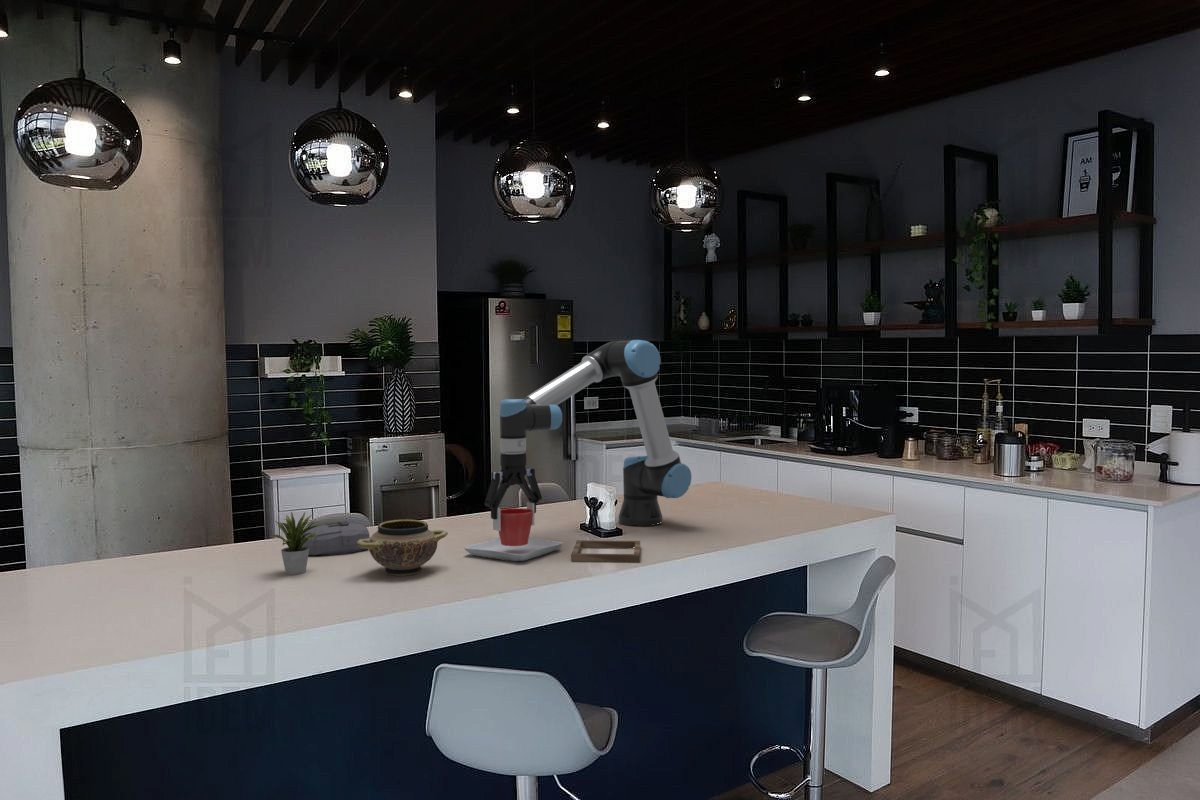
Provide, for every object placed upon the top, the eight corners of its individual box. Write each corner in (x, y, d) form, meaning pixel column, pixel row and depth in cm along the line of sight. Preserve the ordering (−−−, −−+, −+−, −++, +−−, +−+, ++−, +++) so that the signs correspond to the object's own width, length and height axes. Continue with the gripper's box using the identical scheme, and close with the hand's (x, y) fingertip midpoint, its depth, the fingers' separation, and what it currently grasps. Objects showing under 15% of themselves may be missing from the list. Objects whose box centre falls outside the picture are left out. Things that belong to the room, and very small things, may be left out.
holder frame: (576, 546, 261) (576, 540, 260) (640, 547, 259) (640, 540, 259) (571, 561, 242) (570, 554, 241) (639, 562, 240) (639, 555, 240)
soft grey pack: (361, 542, 268) (293, 550, 258) (360, 516, 268) (293, 522, 258) (374, 552, 255) (304, 560, 245) (374, 524, 255) (303, 531, 245)
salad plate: (506, 545, 267) (506, 534, 267) (564, 552, 256) (564, 541, 256) (462, 558, 248) (462, 546, 248) (522, 567, 238) (522, 555, 237)
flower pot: (499, 540, 258) (499, 507, 258) (536, 540, 257) (536, 508, 256) (491, 547, 247) (491, 513, 247) (529, 548, 246) (529, 514, 246)
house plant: (312, 580, 222) (311, 517, 221) (259, 580, 223) (257, 517, 222) (330, 566, 236) (329, 507, 236) (280, 566, 237) (279, 507, 236)
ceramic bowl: (362, 593, 219) (365, 539, 215) (347, 562, 234) (350, 511, 230) (455, 582, 231) (459, 530, 227) (436, 553, 246) (439, 504, 242)
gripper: (486, 456, 240) (487, 535, 241) (553, 450, 256) (554, 523, 257) (471, 454, 246) (472, 531, 247) (538, 448, 261) (538, 520, 262)
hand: (514, 527), depth 252 cm, fingers open, 11 cm apart
